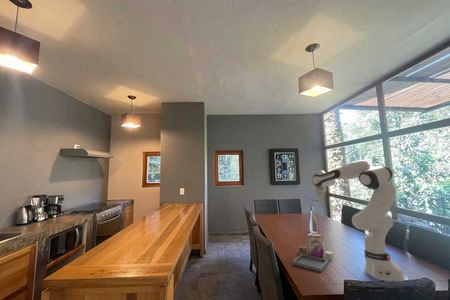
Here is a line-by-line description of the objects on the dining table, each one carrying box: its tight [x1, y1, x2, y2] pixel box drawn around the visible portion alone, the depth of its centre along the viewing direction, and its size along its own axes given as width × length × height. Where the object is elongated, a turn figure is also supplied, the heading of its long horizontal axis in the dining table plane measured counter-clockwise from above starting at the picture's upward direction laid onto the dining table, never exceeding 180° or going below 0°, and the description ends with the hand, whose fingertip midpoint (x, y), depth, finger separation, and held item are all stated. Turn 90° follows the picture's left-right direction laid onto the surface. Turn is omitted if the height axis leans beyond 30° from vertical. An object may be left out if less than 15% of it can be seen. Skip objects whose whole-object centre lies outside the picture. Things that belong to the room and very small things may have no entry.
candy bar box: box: [307, 233, 324, 258], centre depth 167 cm, size 11×5×16 cm, turn 70°
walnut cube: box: [298, 245, 308, 255], centre depth 172 cm, size 5×5×5 cm
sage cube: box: [323, 250, 334, 261], centre depth 160 cm, size 5×5×5 cm
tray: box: [292, 254, 330, 273], centre depth 152 cm, size 20×18×2 cm
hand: (321, 205), depth 174 cm, fingers open, 8 cm apart
